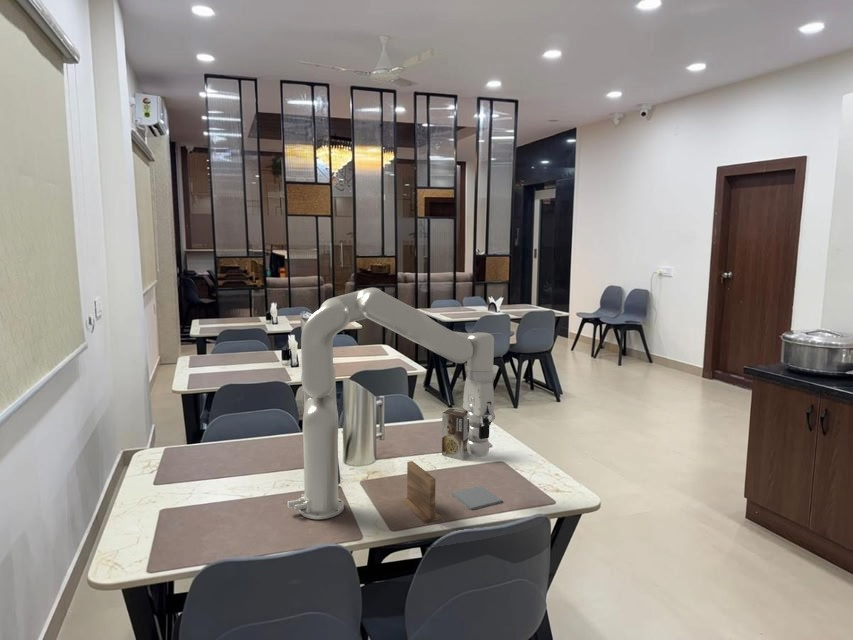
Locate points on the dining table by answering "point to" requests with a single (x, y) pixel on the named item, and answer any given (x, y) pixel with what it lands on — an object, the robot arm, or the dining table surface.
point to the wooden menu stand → (420, 493)
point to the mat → (476, 497)
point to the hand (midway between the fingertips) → (478, 434)
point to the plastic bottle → (476, 436)
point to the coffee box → (455, 434)
